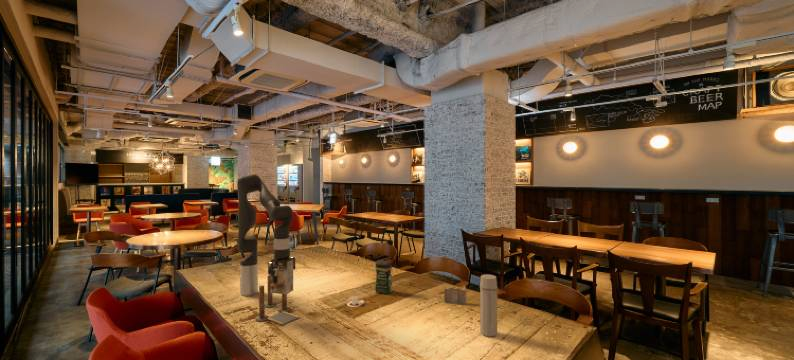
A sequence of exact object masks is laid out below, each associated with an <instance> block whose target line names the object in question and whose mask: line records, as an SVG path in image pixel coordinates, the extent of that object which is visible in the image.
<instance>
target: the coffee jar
mask: <svg viewBox="0 0 794 360" xmlns="http://www.w3.org/2000/svg"><path fill="white" fill-rule="evenodd" d="M374 268H375V273H376V275H375V277H376V278H375V286H374V287H375V289H374V291H375V292H376V293H378V294H383V295H388V294H391V293H392V292H393V283H392V270H393V264H392V261H391V260H383V259H378V260H376V262H375V266H374Z"/></svg>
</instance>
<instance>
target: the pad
mask: <svg viewBox="0 0 794 360" xmlns="http://www.w3.org/2000/svg"><path fill="white" fill-rule="evenodd" d="M298 319H300V316H299V315H295V314H293V313H290V312H284V311H283V312H281V313H280V312H278V313H277V314H273V315H271V316H269V318H267V320H266V321H270V322H272V323H275V324H277V325H279V326H285V325H287V324H288V323H291V322H294V321H296V320H298Z"/></svg>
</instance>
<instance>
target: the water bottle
mask: <svg viewBox="0 0 794 360" xmlns="http://www.w3.org/2000/svg"><path fill="white" fill-rule="evenodd" d="M479 289H480V291H479V292H480V302H479V304H480V305H479V306H480V312H479V313H480V316H479V317H480V322H479V323H480V325H479V326H480V334H481V335H483V336H485V337H488V338H492V337H495V336H497V335H498V291H500V290H499V287H498V281H497V276H496V275H493V274H482V275H480V282H479Z"/></svg>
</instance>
